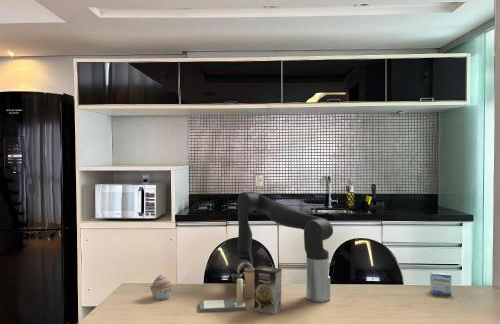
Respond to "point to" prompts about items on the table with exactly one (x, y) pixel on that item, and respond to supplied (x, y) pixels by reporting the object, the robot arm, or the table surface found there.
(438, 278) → the medicine box
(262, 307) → the coffee box
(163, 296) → the cupcake
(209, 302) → the grey stand with post
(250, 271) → the spice jar
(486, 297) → the table surface
